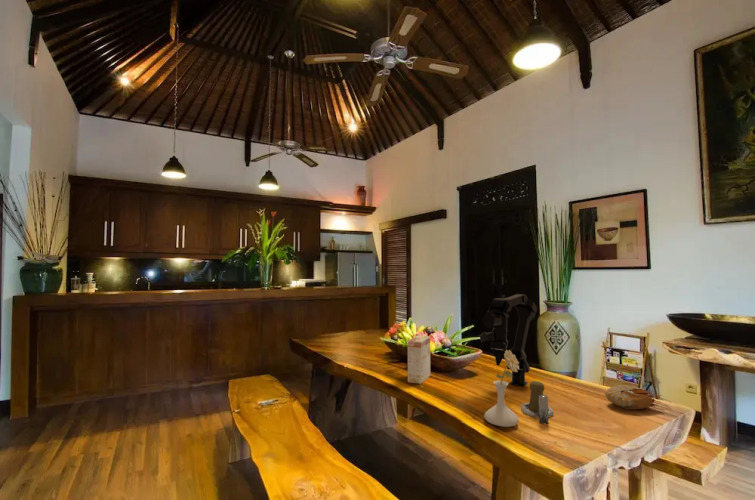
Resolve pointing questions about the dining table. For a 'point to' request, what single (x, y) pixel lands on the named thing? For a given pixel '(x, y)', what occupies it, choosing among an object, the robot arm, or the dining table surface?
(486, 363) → the dining table surface
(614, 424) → the dining table surface
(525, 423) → the dining table surface
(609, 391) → the nautilus
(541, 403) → the octagon frame
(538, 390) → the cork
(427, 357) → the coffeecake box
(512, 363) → the flower in vase
